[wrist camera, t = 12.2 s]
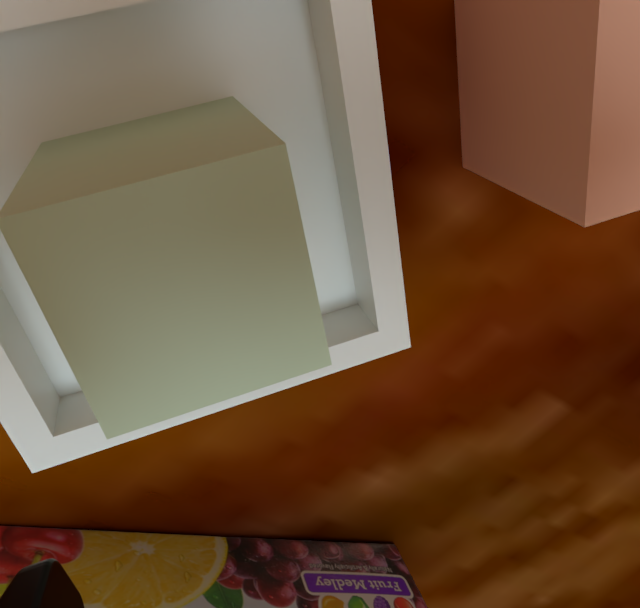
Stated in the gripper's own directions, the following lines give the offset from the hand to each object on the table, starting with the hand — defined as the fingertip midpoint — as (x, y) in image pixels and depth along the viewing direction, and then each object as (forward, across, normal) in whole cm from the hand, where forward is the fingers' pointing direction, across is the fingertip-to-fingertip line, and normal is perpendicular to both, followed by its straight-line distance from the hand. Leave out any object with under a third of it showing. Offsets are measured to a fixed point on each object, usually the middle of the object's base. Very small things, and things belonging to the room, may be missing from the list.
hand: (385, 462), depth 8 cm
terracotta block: (+11, -10, -2) cm, 15 cm away
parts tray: (+11, +2, -1) cm, 11 cm away
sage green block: (+10, +2, -1) cm, 11 cm away
